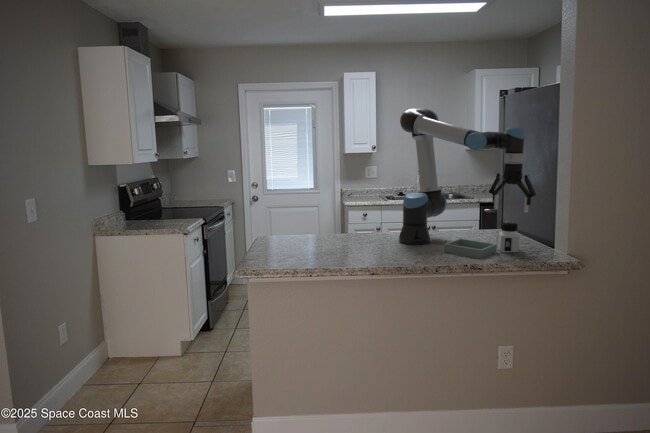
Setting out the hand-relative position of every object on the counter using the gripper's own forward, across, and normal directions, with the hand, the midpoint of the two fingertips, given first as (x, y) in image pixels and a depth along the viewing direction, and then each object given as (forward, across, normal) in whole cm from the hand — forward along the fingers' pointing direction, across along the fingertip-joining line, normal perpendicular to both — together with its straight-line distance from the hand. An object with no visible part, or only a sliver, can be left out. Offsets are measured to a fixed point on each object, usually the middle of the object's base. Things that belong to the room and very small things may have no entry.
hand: (510, 210), depth 223 cm
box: (+18, -12, -13) cm, 26 cm away
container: (+18, 0, 0) cm, 19 cm away
